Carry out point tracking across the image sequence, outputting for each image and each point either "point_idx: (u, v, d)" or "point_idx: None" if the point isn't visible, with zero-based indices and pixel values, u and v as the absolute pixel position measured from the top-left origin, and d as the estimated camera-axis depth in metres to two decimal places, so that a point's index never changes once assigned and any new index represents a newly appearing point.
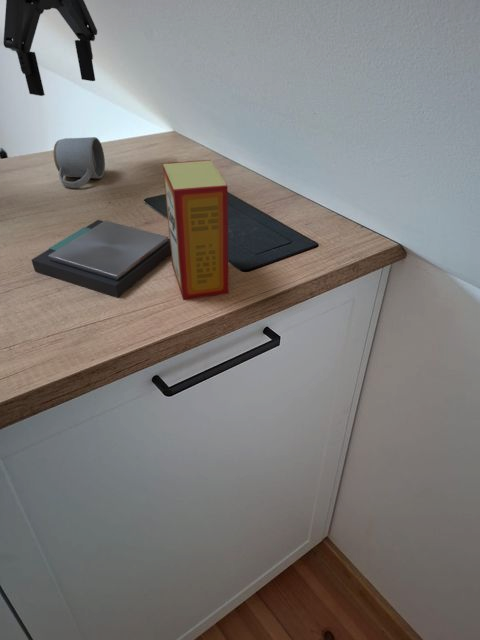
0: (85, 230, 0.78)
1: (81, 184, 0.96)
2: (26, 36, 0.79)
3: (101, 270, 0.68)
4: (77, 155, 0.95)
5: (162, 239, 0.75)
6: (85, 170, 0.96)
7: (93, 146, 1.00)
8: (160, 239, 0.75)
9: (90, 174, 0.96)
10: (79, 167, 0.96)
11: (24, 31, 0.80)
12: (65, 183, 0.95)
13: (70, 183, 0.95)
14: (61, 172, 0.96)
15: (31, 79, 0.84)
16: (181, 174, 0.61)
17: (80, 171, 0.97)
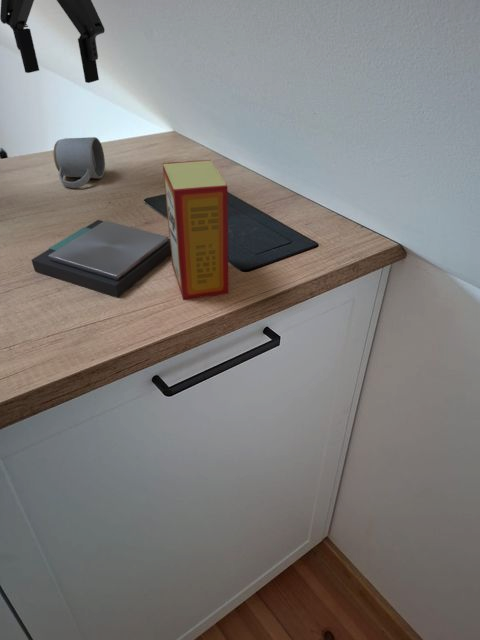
0: (85, 230, 0.78)
1: (81, 184, 0.96)
2: None
3: (101, 270, 0.68)
4: (77, 155, 0.95)
5: (162, 239, 0.75)
6: (85, 170, 0.96)
7: (93, 146, 1.00)
8: (160, 239, 0.75)
9: (90, 174, 0.96)
10: (79, 167, 0.96)
11: (82, 16, 0.80)
12: (65, 183, 0.95)
13: (70, 183, 0.95)
14: (61, 172, 0.96)
15: (91, 65, 0.84)
16: (181, 174, 0.61)
17: (80, 171, 0.97)
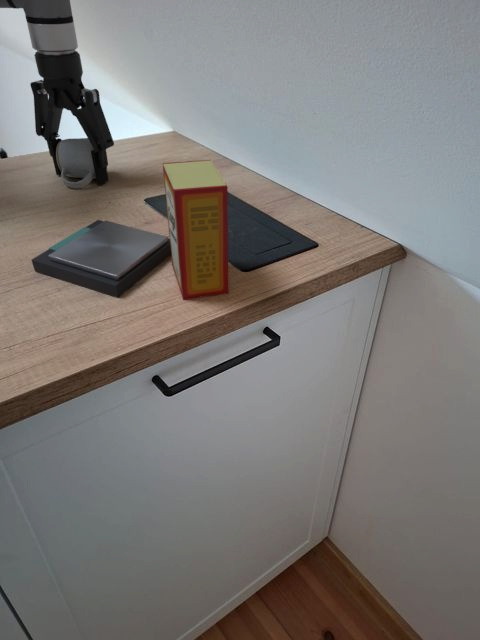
0: (85, 230, 0.78)
1: (83, 184, 0.95)
2: None
3: (101, 270, 0.68)
4: (79, 155, 0.95)
5: (162, 239, 0.75)
6: (87, 170, 0.96)
7: None
8: (160, 239, 0.75)
9: (92, 175, 0.96)
10: (81, 167, 0.96)
11: (96, 132, 0.92)
12: (67, 183, 0.95)
13: (72, 184, 0.95)
14: (63, 172, 0.96)
15: (102, 171, 0.96)
16: (181, 174, 0.61)
17: (82, 171, 0.96)
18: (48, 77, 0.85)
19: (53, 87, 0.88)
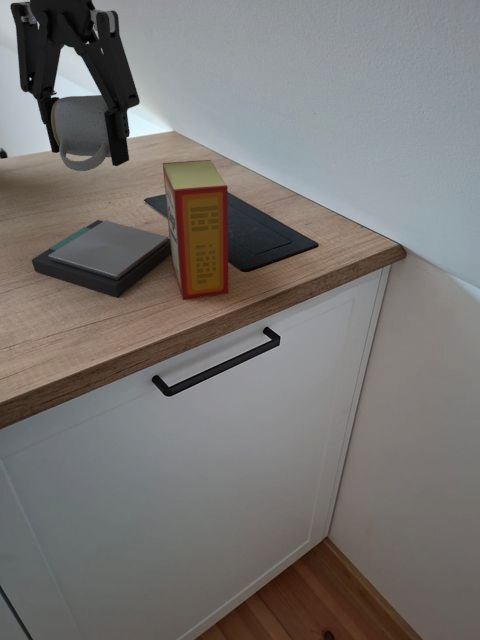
0: (85, 230, 0.78)
1: (93, 165, 0.63)
2: None
3: (101, 270, 0.68)
4: (87, 121, 0.62)
5: (162, 239, 0.75)
6: (99, 144, 0.64)
7: None
8: (160, 239, 0.75)
9: (106, 150, 0.64)
10: (90, 139, 0.63)
11: (112, 83, 0.60)
12: (69, 163, 0.63)
13: (76, 163, 0.62)
14: (63, 147, 0.64)
15: (120, 144, 0.64)
16: (181, 174, 0.61)
17: (91, 146, 0.64)
18: None
19: (46, 9, 0.56)
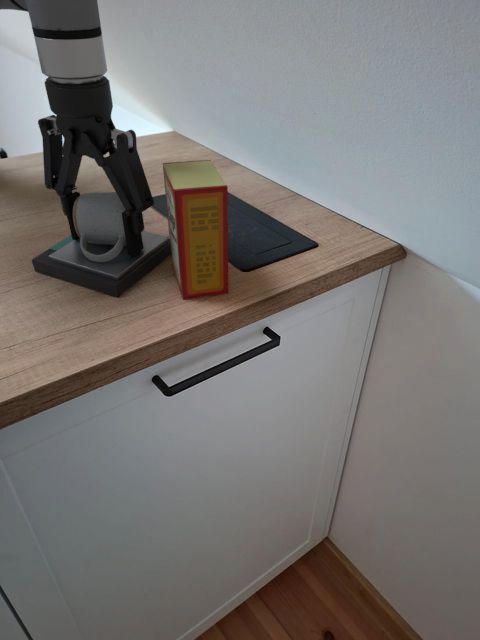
0: None
1: (111, 257, 0.69)
2: None
3: (101, 270, 0.68)
4: (106, 218, 0.68)
5: (162, 240, 0.75)
6: (116, 237, 0.70)
7: None
8: (160, 240, 0.75)
9: (122, 243, 0.70)
10: (108, 233, 0.70)
11: (129, 188, 0.66)
12: (89, 256, 0.69)
13: (96, 257, 0.68)
14: (83, 240, 0.70)
15: (135, 237, 0.70)
16: (181, 174, 0.61)
17: (109, 238, 0.70)
18: (64, 115, 0.58)
19: (70, 127, 0.62)
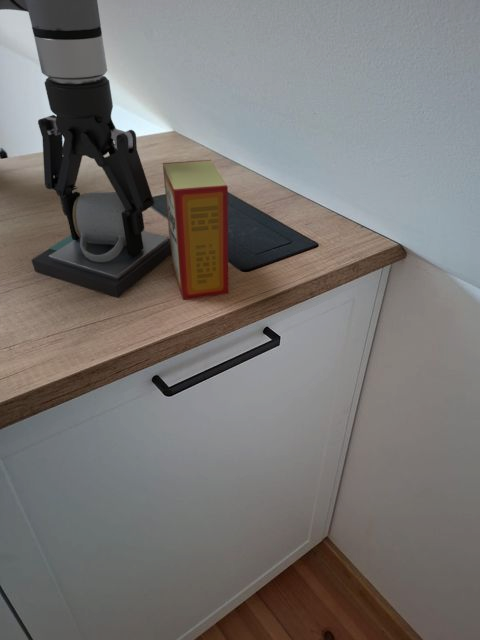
0: None
1: (111, 257, 0.69)
2: None
3: (101, 270, 0.68)
4: (106, 218, 0.68)
5: (162, 240, 0.75)
6: (116, 237, 0.70)
7: None
8: (160, 240, 0.75)
9: (122, 243, 0.70)
10: (108, 233, 0.70)
11: (129, 188, 0.66)
12: (89, 256, 0.69)
13: (96, 257, 0.68)
14: (83, 240, 0.70)
15: (135, 237, 0.70)
16: (181, 174, 0.61)
17: (109, 238, 0.70)
18: (64, 115, 0.58)
19: (70, 127, 0.62)
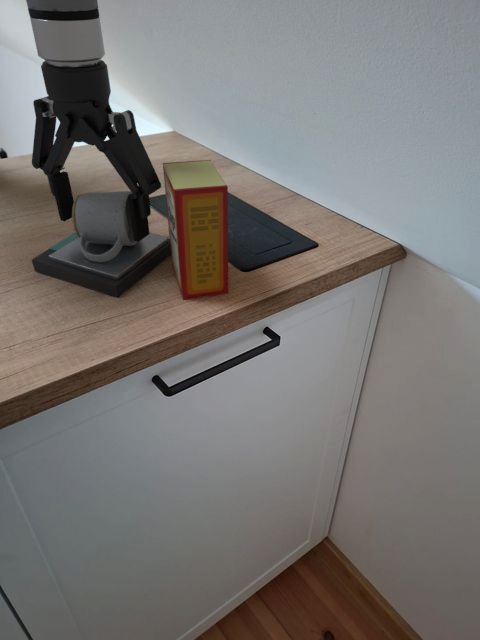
0: None
1: (110, 257, 0.69)
2: None
3: (101, 270, 0.68)
4: (105, 218, 0.68)
5: (162, 240, 0.75)
6: (115, 237, 0.70)
7: None
8: (160, 240, 0.75)
9: (121, 243, 0.70)
10: (107, 233, 0.70)
11: (134, 170, 0.64)
12: (88, 256, 0.69)
13: (95, 257, 0.69)
14: (82, 240, 0.70)
15: (141, 222, 0.68)
16: (181, 174, 0.61)
17: (108, 238, 0.70)
18: (61, 99, 0.57)
19: (68, 112, 0.61)
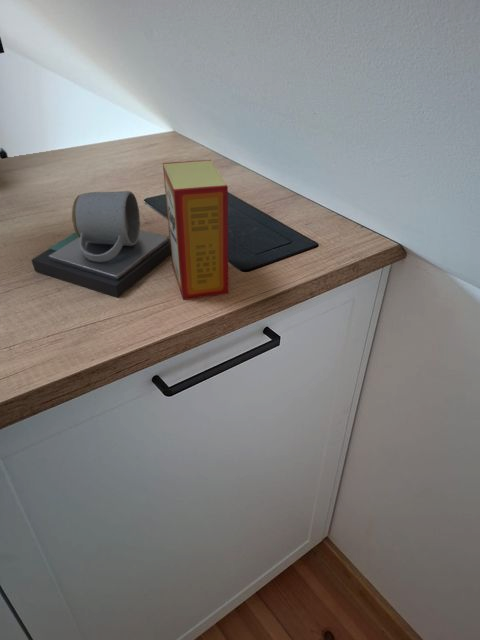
0: None
1: (110, 257, 0.69)
2: None
3: (101, 270, 0.68)
4: (105, 218, 0.68)
5: (162, 240, 0.75)
6: (115, 237, 0.70)
7: None
8: (160, 240, 0.75)
9: (121, 243, 0.70)
10: (107, 233, 0.70)
11: None
12: (88, 256, 0.69)
13: (95, 257, 0.69)
14: (82, 240, 0.70)
15: None
16: (181, 174, 0.61)
17: (108, 238, 0.70)
18: None
19: None
